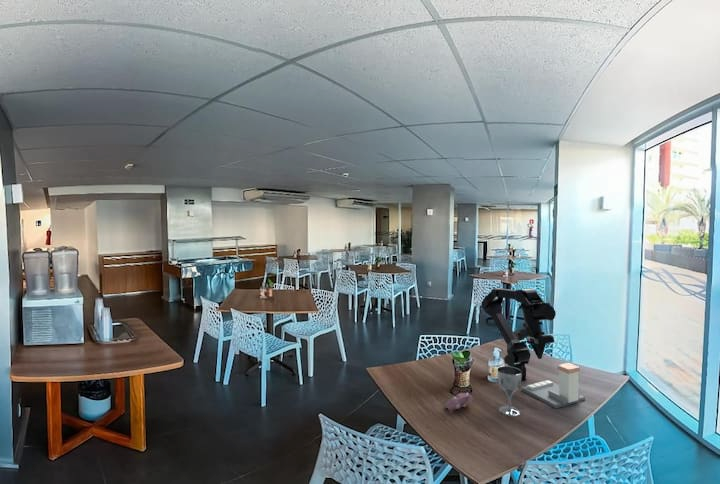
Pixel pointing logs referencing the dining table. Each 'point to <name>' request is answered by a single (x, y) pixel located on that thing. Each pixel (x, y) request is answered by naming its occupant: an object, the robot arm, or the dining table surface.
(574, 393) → the key
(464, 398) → the pink toy figurine
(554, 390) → the keyboard deck
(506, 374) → the wine glass
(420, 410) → the dining table surface
